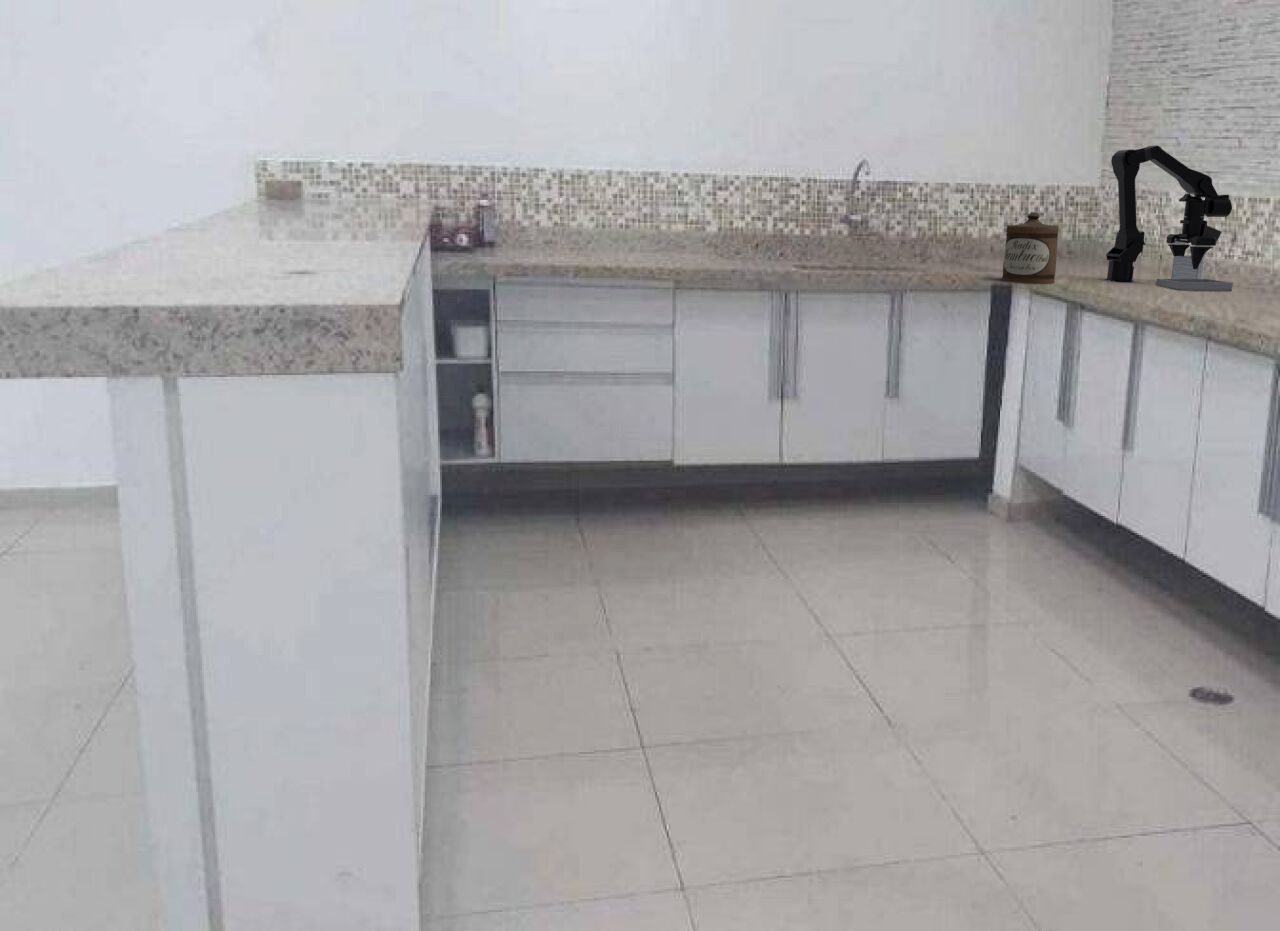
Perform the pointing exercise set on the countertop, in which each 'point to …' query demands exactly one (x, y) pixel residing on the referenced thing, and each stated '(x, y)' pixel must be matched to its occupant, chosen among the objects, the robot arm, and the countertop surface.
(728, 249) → the countertop surface
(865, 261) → the countertop surface
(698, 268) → the countertop surface
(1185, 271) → the medicine box
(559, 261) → the countertop surface
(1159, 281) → the tray
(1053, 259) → the wooden container
